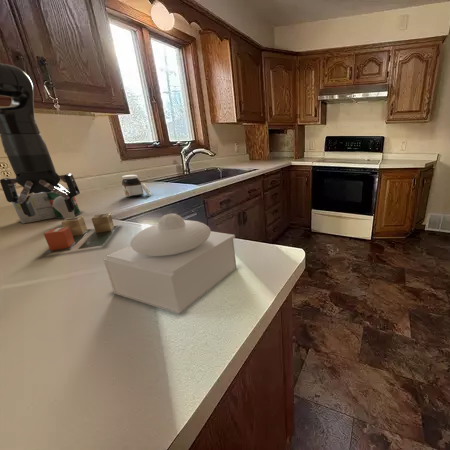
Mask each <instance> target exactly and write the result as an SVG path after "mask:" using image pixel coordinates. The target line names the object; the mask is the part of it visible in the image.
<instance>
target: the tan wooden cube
mask: <svg viewBox="0 0 450 450" xmlns="http://www.w3.org/2000/svg"><path fill="white" fill-rule="evenodd" d="M61 224H62V228H64V227H70V230H71V233H72V236H76V235H83V234H84V233H85V232H86V231H87V230H88V227H87V225H86V222H85V219H84V216H75V217H74V218H67V219H64V220H62V221H61Z"/></svg>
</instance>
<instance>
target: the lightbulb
mask: <svg viewBox="0 0 450 450" xmlns="http://www.w3.org/2000/svg"><path fill="white" fill-rule="evenodd" d="M64 200H65V198H63V197H62V196H59V197H57V198H55V199H54V201H53V206H54V208H55V209H56V210H57V211H59V212H60V213H61V214H62V216H63V218H62V219H64V220H65V219H67V218H74V217H76V216H75V215H74V211H73V212H68V209H67V206H66V204H65V201H64ZM74 202H75V201H74ZM75 205H76V203H75Z"/></svg>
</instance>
